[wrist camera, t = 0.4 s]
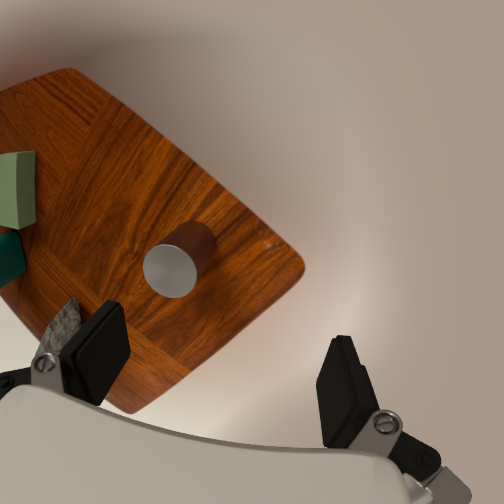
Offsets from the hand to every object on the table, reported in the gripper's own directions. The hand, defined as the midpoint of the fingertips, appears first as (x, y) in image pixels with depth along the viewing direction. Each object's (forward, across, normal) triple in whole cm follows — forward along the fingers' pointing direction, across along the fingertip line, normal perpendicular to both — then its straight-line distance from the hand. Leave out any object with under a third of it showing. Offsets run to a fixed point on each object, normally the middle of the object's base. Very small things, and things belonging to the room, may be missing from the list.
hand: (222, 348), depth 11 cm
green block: (+22, +41, -3) cm, 47 cm away
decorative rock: (+23, +30, +23) cm, 44 cm away
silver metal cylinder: (+22, +7, +4) cm, 24 cm away
